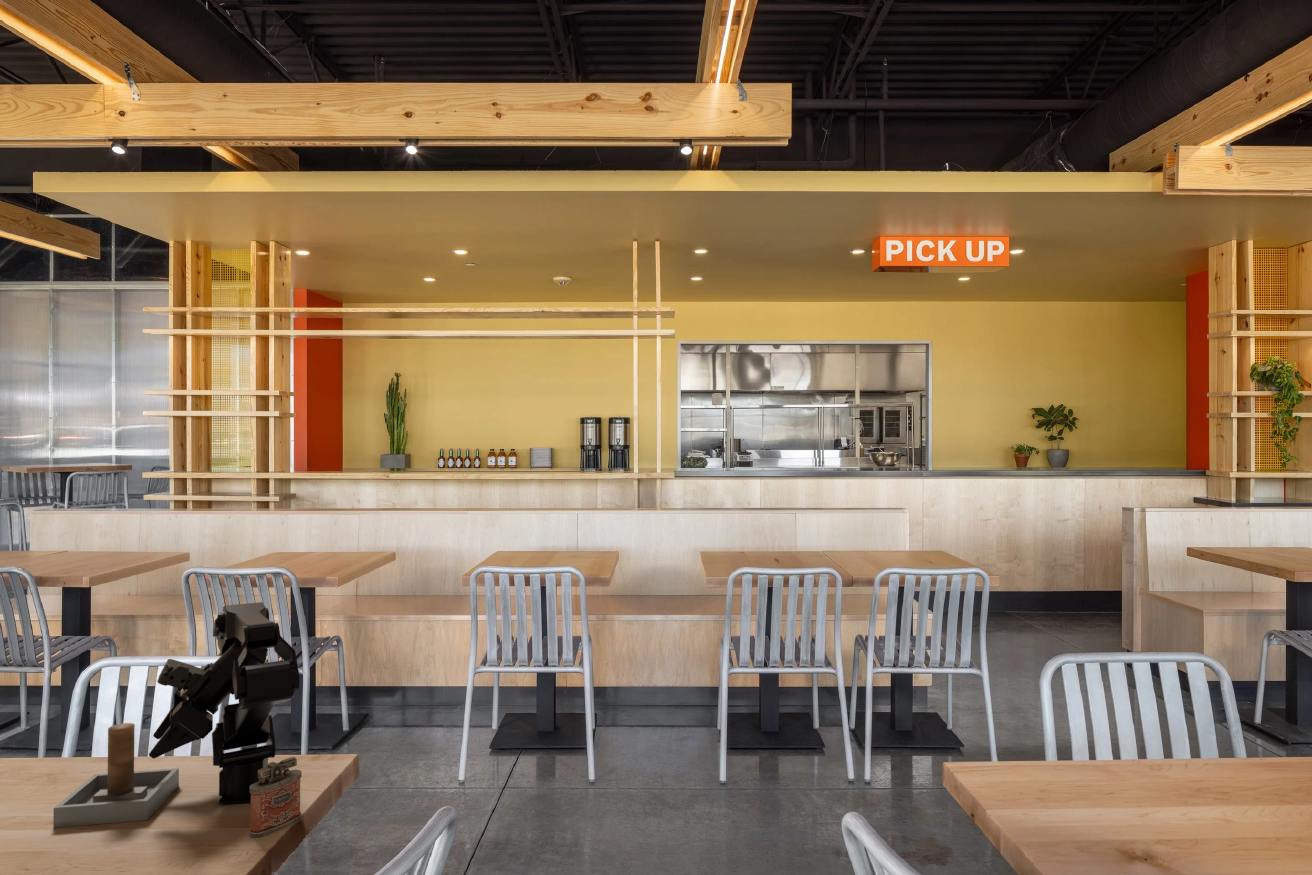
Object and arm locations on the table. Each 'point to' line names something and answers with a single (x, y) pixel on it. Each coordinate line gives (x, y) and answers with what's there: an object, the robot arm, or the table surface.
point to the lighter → (275, 799)
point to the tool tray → (85, 812)
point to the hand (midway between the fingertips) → (153, 746)
